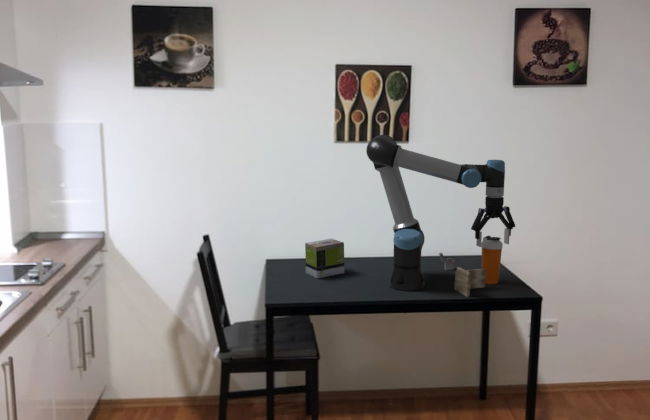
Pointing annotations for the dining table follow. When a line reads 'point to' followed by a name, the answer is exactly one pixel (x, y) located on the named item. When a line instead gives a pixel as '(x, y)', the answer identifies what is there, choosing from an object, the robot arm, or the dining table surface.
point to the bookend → (469, 280)
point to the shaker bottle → (491, 258)
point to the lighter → (447, 262)
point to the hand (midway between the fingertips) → (492, 245)
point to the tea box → (324, 258)
